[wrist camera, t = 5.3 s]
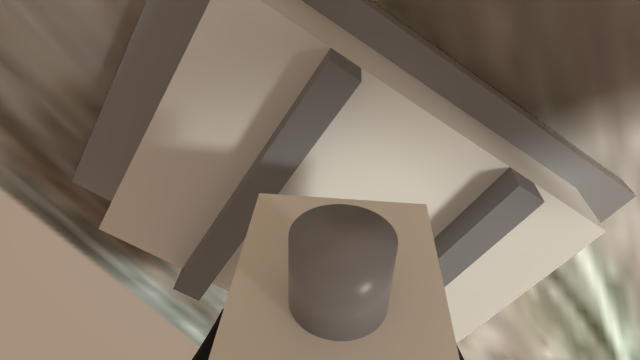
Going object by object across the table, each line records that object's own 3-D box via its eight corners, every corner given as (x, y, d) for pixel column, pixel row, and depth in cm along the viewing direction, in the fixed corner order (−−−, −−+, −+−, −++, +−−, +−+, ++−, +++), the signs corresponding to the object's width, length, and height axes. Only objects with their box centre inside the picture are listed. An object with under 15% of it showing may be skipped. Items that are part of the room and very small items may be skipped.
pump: (437, 149, 10) (492, 335, 6) (395, 362, 14) (411, 561, 10) (256, 137, 10) (190, 312, 6) (265, 352, 15) (229, 545, 10)
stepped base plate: (623, 181, 18) (692, 261, 14) (422, 340, 24) (434, 427, 20) (204, -118, 14) (147, -115, 10) (83, 168, 20) (18, 239, 16)
